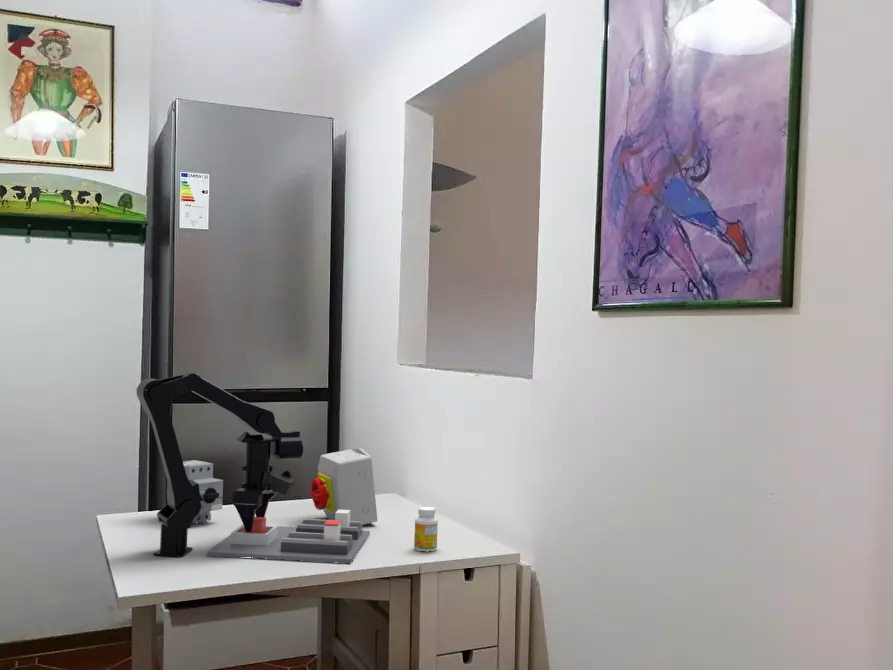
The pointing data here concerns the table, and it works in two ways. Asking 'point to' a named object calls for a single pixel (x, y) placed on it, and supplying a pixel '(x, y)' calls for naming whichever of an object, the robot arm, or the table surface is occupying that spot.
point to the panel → (277, 549)
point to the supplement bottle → (426, 530)
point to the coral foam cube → (258, 525)
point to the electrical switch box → (346, 485)
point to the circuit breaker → (205, 487)
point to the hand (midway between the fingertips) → (254, 527)
